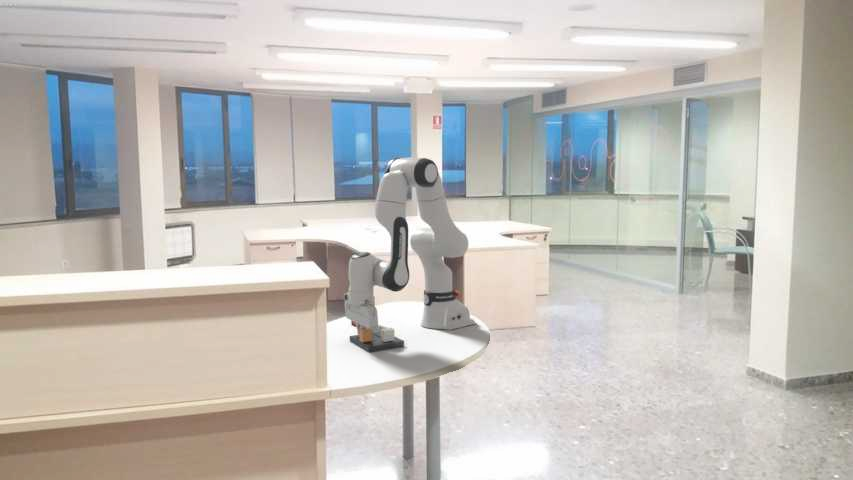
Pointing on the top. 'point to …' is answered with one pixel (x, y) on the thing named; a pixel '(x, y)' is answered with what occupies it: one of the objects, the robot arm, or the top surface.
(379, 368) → the top surface
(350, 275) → the robot arm
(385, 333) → the fader
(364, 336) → the fader
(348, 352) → the top surface
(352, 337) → the console
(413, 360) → the top surface
